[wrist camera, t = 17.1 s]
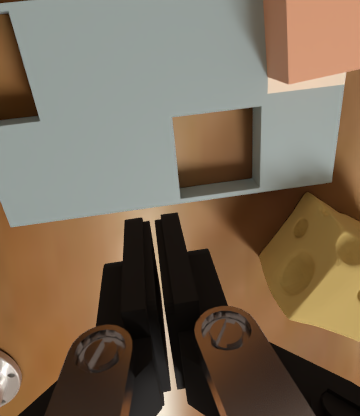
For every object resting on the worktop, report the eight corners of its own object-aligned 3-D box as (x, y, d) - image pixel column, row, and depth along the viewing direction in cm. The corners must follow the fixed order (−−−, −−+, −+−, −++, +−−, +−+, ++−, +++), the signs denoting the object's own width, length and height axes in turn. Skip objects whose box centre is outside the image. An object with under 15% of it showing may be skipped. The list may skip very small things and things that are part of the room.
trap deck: (18, 214, 35) (10, 227, 32) (-57, 12, 26) (-74, 10, 24) (319, 173, 37) (331, 182, 34) (342, -28, 28) (359, -33, 26)
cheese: (305, 188, 37) (357, 237, 29) (371, 224, 41) (436, 277, 32) (251, 258, 41) (284, 320, 32) (317, 286, 44) (362, 349, 36)
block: (267, 76, 29) (288, 84, 25) (261, -21, 25) (285, -30, 21) (346, 59, 29) (380, 64, 25) (351, -40, 26) (391, -52, 22)
